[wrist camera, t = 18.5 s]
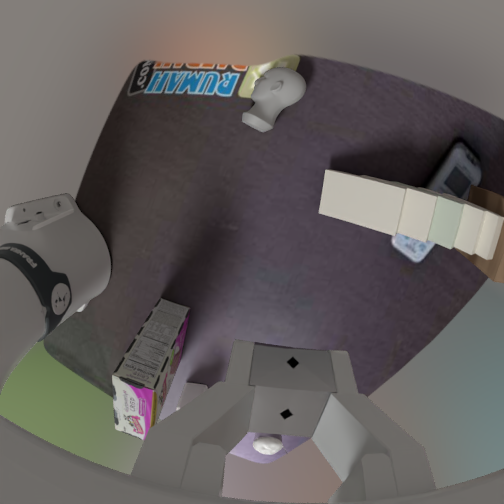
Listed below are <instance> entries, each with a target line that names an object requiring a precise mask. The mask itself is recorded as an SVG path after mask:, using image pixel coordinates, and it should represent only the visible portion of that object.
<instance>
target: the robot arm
mask: <svg viewBox="0 0 504 504" xmlns="http://www.w3.org/2000/svg"><path fill="white" fill-rule="evenodd" d="M59 202H60V203H61V205H60V204H59ZM110 274H111V261H110V255H109V251H108V248H107V245H106V243H105V241H104V238H103V237H102V235H101V233H100V232H99V230H98V229H97V227H96V226H95V225H94V224H93V223H92V222H91V221H90V220H89V219H88V218H87V217H86V216H85V215H84V214H83V213H82V212H81V211H80V210H79V208H78V206H77V204H76V202H75V201H74V199H73V197H72V196H71V195H70V194H67V193H65V194H60V195H55V196H51V197H47V198H42V199H38V200H33V201H29V202H26V203H21V204H17V205H13V206H11V207H9V208H8V209H7V212H6V216H5V225H3V226H1V227H0V393H1V391H2V389H3V386H4V384H5V382H6V380H7V379H8V377H9V375H10V374H11V372H12V371H13V370H14V368H15V367H16V366H17V365H18V363H19V362H20V361H21V360H22V358H23V357H24V356H25V355H26V353H27V352H28V351H29V350H30V349H31V348H32V347H33V346H34V344H35V343H36V342H39V341H42V340H43V339H45V338H46V337H47V336H49V335H50V334H51V333H52V331H53V330H54V329H55V328H56V327H57V326H58V325H59V324H61V323H62V322H63V321H64V320H66V319H67V318H68V317H69V316H71V315H72V314H73V313H74V312H76V311H78V312H81V311H82V310H83V309H85V308H86V306H87V305H88V303H89V301H90V300H91V299H92V298H94V297H96V296H97V295H99V294H100V293H102V292H103V290H104V289H105V288H106V286H107V284H108V282H109V279H110ZM253 348H254V349H253ZM247 432H256V433H268V434H281V435H292V436H304V437H312V440H313V441H314V443H315V444H316V445H317V447H318V448H319V450H320V451H321V453H322V454H323V455H324V457H325V458H326V460H327V461H328V462H329V464H330V465H331V466H332V468H333V469H334V471H335V472H336V473H337V475H338V476H339V477H340V479H341V480H342V482H343V483H342V484H341V486H340V487H339V488H338V489H337V490H336V492H335V493H334V494H333V495H332V496H331V497H330V499H329V500H328V503H279V502H264V501H253V500H244V499H235V498H228V497H222V488H223V479H224V468H225V457H226V455H227V454H228V453H229V452H230V451H231V450H232V449H233V448H234V447H235V446H236V445H237V444H238V443H239V442H240V441H241V440H242V439H243V437H244V436H245V435H246V434H247ZM0 504H504V469H501V470H499V471H496V472H493V473H490V474H488V475H485V476H482V477H479V478H476V479H472V480H469V481H466V482H462V483H459V484H455V485H452V486H447V487H444V488H440V489H436V486H435V482H434V479H433V475H432V472H431V468H430V465H429V461H428V458H427V455H426V452H425V448H424V447H423V446H422V445H421V444H420V443H418V442H417V441H416V440H415V439H414V438H413V437H412V436H410V435H409V434H408V433H407V432H406V431H405V430H403V429H402V428H401V427H400V426H399V425H398V424H397V423H395V422H394V421H393V420H392V419H391V418H390V417H389V416H388V415H387V414H385V413H384V412H383V411H382V410H381V409H380V408H379V407H378V406H376V405H375V404H374V403H373V402H372V401H371V400H370V399H369V398H368V397H366V396H365V395H364V394H358V390H357V386H356V382H355V378H354V374H353V370H352V366H351V362H350V358H349V354H348V352H347V351H338V350H328V351H327V350H315V349H303V348H293V347H286V346H279V345H272V344H265V343H258V342H255V343H254V342H250V341H243V340H237V339H235V341H234V343H233V347H232V352H231V356H230V361H229V365H228V370H227V374H226V379H225V382H221V381H219V382H217V383H216V384H214V385H213V386H212V387H210V388H209V389H207V390H206V391H205V392H203V393H202V394H200V395H199V396H197V397H196V398H195V399H193V400H192V401H190V402H189V403H187V404H186V405H184V406H183V407H182V408H180V409H179V410H177V411H176V412H174V413H173V414H171V415H170V416H168V417H167V418H165V419H164V420H162V421H161V422H159V423H157V424H156V425H154V426H153V427H151V428H150V429H149V430H148V433H147V435H146V438H145V440H144V443H143V445H142V448H141V450H140V453H139V455H138V458H137V460H136V463H135V465H134V468H133V470H132V473H131V475H128V474H125V473H122V472H119V471H116V470H113V469H110V468H108V467H105V466H102V465H100V464H97V463H94V462H92V461H89V460H87V459H84V458H82V457H79V456H77V455H75V454H73V453H70V452H68V451H66V450H64V449H62V448H60V447H57V446H55V445H53V444H51V443H49V442H47V441H45V440H43V439H41V438H40V437H38V436H36V435H34V434H32V433H30V432H28V431H27V430H25V429H23V428H21V427H20V426H18V425H16V424H14V423H13V422H11V421H9V420H8V419H6V418H4V417H3V416H1V415H0Z"/></svg>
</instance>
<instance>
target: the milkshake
mask: <svg viewBox="0 0 504 504" xmlns="http://www.w3.org/2000/svg"><path fill="white" fill-rule="evenodd" d="M253 446H254V448H255V449H256V450H257V451H258V452H260V453H262V454H269V455H272V454H274V453H276V452H278V451H279V450H281V448H282V446H283V445H282V436H281V434H268V433H255V438H254V442H253ZM283 448H284V447H283ZM284 449H285V448H284ZM285 451H286V450H285ZM286 453H287V452H286Z"/></svg>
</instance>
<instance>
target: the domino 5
mask: <svg viewBox="0 0 504 504" xmlns="http://www.w3.org/2000/svg"><path fill="white" fill-rule="evenodd" d="M443 195H446V196H449V197H452V198H454V199H457V200H460V201H463V202H465V203H468V204H470V205H473V206H476V207H478V208H481V209H483V210H486V211H487V213H486V217H485V221H484V225H483V229H482V232H481V236H480V239H479V243H478V246H477V249H476V252H475V254H477V255H479V256H481V257H482V258H484V259H486V260H490V259H492V258H493V255H494V252H495V249H496V246H497V242H498V239H499V236H500V232H501V228H502V225H503V221H504V217H503V216H500V215H498V214H496V213H494V212H491V211H489V210H487V209H485V208H482V207H480V206H478V205H475V204H473V203H470V202H468V201H466V200H463V199H461V198H458V197H456V196H453V195H450V194H446V193H443Z"/></svg>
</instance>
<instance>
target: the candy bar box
mask: <svg viewBox="0 0 504 504" xmlns="http://www.w3.org/2000/svg"><path fill="white" fill-rule="evenodd" d="M189 313H190V308H189V307H187V306H184V305H180V304H177V303H174V302H171V301H168V300H165V299H162V298H160V299H159V301H158V302H157V304H156V305H155V307H154V308H153V310H152V311H151V313H150V315H149V316H148V318H147V319H146V321H145V323H144V324H143V326H142V327H141V329H140V331H139V332H138V334H137V335H136V337H135V338H134V340H133V342H132V343H131V345H130V346H129V348H128V350H127V351H126V353H125V355H124V357H123V358H122V360H121V362H120V363H119V365H118V367H117V368H116V370H115V371H114V373H113V374H112V382H113V403H114V404H113V405H114V419H115V429H116V430H119V431H121V432H124V433H127V434H129V435H131V436H134V437H138V438H139V439H141V440H145V438H146V435H147V433H148V430H149V429H150V428H151V427H153V426H154V425H156V424H157V421H158V419H159V416H160V413H161V410H162V408H163V405H164V402H165V400H166V397H167V394H168V392H169V389H170V386H171V384H172V381H173V378H174V376H175V373H176V371H177V368H178V366H179V363H180V360H181V354H182V349H183V343H184V339H185V334H186V328H187V323H188V318H189Z"/></svg>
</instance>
